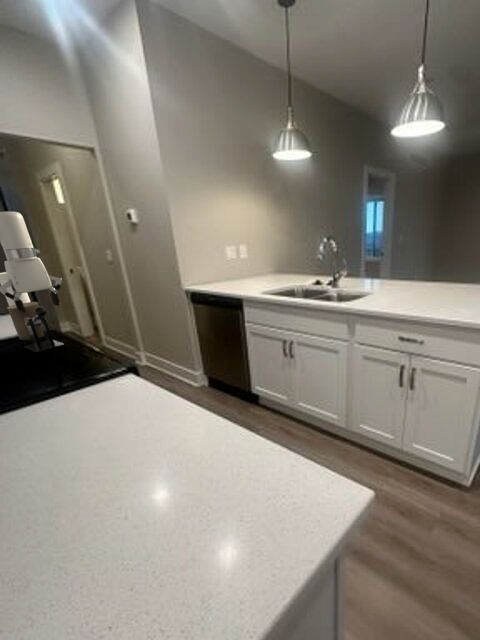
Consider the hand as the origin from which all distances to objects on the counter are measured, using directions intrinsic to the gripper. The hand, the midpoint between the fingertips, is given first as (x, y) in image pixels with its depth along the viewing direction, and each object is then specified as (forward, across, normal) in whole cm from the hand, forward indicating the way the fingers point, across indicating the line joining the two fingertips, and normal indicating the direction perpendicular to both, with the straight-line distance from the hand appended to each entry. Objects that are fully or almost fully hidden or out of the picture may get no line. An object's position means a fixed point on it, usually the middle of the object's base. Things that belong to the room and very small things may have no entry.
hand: (40, 308), depth 114 cm
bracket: (+16, 0, -9) cm, 18 cm away
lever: (+5, 0, -4) cm, 6 cm away
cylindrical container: (+16, -4, -39) cm, 42 cm away
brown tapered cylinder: (+16, -2, -27) cm, 32 cm away
